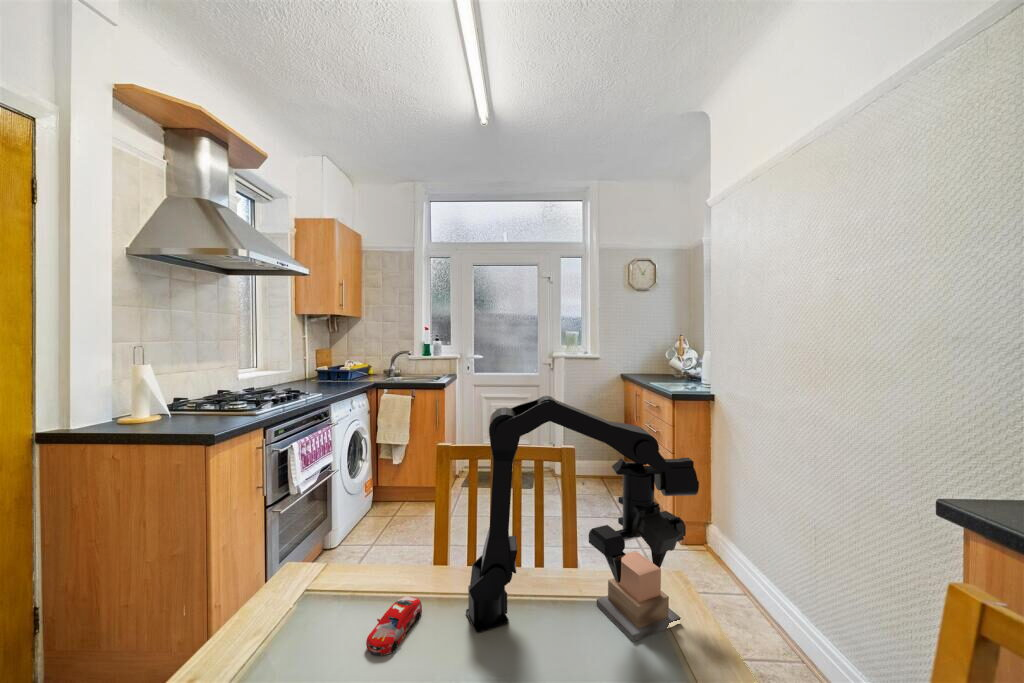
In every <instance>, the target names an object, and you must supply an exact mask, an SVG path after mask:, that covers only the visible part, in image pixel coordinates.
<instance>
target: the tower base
mask: <svg viewBox="0 0 1024 683" xmlns="http://www.w3.org/2000/svg"><path fill="white" fill-rule="evenodd" d="M669 598H670V597H669V595H668V594H666V593H665V592H664V591H663V590H661V595H659V596H656V597H653V598H650V599H647V600H644V601H641V602H638V601H637V600H636V599H635V598H634V597H633V596H631V595H630V594H629V593H628V592H627V591H626V590H624V589H623V588H622V587H621V586H620V585H619V584H618V583H616V582H615V578H614V577H613V578H610V579H607V595H606V596H602V597H599V598H596V606H597V607H598V608H599V609H600V610H601V612H603V614H604V615H606V616H607V617H608V619H610V621H612V622H613V624H615V626H616V627H617V628H618V629H620V631H622V633H623V634H624V635H626V637H627V638H628V639H629V640H630V641H631V642H636V641H638V640H642V639H645V638H647V637H649V636H652V635H655V634H657V633H660V632H663V631H665V630H668V629H667V627H668V625H669V623H671V622H673V621H677V620H680V619H681V620H682V618H681V616H679V615H678V614H677V613H676V612H675V611H673V610H672V609H671V608H670V606H669V605H670V603H669V602H670V601H669V600H670V599H669Z"/></svg>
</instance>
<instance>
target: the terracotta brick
mask: <svg viewBox="0 0 1024 683" xmlns="http://www.w3.org/2000/svg"><path fill="white" fill-rule="evenodd" d="M625 554H626V555H625V556H624V557H622V559H621V580H620V582H619V583H618V582H617V581H616V580H615V582H616V583H618V584H619V585H620V586H621V587H622V588H623V589H624V590H626V591H627V592H628V593H629V594H630V595H631V596H633V597H634V598H635V599H636V600H637V601H638V602H641V601H644V600H647V599H650V598H653V597H656V596H659V595H661V591H662V590H661V589H662V588H661V587H662V585H661V584H662V580H661V579H662V569H661V567H660V568H659V567H658V566H656V565H655V564H653V561H651V560H649V559H648V558H647V557H645V556H644V555H642V554H641V553H640V552H639V551H636V550H635V551H632V552H627V553H625Z"/></svg>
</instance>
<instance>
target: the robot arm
mask: <svg viewBox="0 0 1024 683" xmlns="http://www.w3.org/2000/svg"><path fill="white" fill-rule="evenodd" d="M489 418H490V419H489V426H488V435H489V442H490V449H491V450H490V451H491V456H492V462H493V463H492V476H491V477H492V480H491V498H490V512H489V514H490V515H489V527H488V530H487V533H486V537H485V541H484V544H483V550H482V552H481V553H482V554H481V555H480V556H479V557H478V558H477V560H475V561H474V562H473V563H472V565H471V571H470V572H471V573H470V574H471V575H470V583H469V585H467V587H468V588H467V589H468V592H467V593H468V598H467V599H468V608H467V609H466V610H465V615H466V616H467V618H468V620H469V622H470V623H471V625H472V628H473V629H474V632H475V633H481V632H485V631H487V630H488V631H489V630H491V629H495V628H497V627H501V626H504V625H507V624H509V622H510V619H509V617H508V616H507V615H506V614H508V592H507V591H506V586H507V585H508V584H509V583H511V581H512V579H513V574H517V562H516V561H517V560H516V559H517V555H518V544H517V536H516V535H510V533H509V529H510V515H511V511H510V510H511V496H512V482H513V480H512V478H513V466H514V465H513V464H514V460H515V457H516V454H517V450H518V447H519V443H520V439H521V437H522V436H524V435H527V434H529V433H531V432H533V431H534V430H536V429H537V428H539V427H541V426H542V425H545V424H546V423H549V422H550V423H554V424H556V425H559V426H561V427H564V428H566V429H568V430H570V431H574V432H576V433H579V434H581V435H583V436H587V437H589V438H592V439H594V440H597V441H599V442H601V443H604V444H606V445H607V446H608V447H610V448H612V449H614V450H615V451H617V452H618V453H619V454H621V455H622V456H624V457H625V458H627V460H628V459H629V460H630V461H631V462H629V461H625V460H624V459H623V458H622V457H620V458H619V459H618V461H616V462H615V463H614V464H613V465H611V468H612V470H613V471H614V473H615V474H616V475H617V476H622V496H618V497H617V498H618V503H619V504H620V505H622V516H620V517H618V520H617V522H618V525H621V526H622V528H621V529H618V530H615V529H614V528H612V527H611V526H610V525H608V524H606V525H605V524H604V525H600V526H596V527H593V528H591V529H590V530H589V532H588V543H589V544H590V545H591V546H592V547H594V548H595V549H596V550H597V551H599V552H600V553H601V555H603V556H604V557H605V559H606V560H605V561H606V562H607V564H608V567H609V569H610V571H611V574H612V575H613V578H615V580H616V581H617V582H618V583H619V582H620V580H621V559H622V557H624V556H625V555H626V554H627V553H626V552H624V550H625V548H626V542H628V541H632V540H635V539H638V538H642V540H643V541H644V542H645V544H647V546H648V547H649V548H650V552H651V559H652V561H651V562H652V563H653V564H655V565H656V566H658V567H659V568H660V569H661V567H662V565H663V562H664V560H665V556H666V554H667V552H669V551H670V552H672V551H674V550H675V548H676V545H677V543H678V542H682V541H684V538H685V537H686V533H687V532H686V530H687V529H686V528H687V527H686V526H687V525H686V523H685V521H684V520H683V519H682V518H680V516H676V515H675V514H672V513H670V512H669V511H668V510H663V511H661V507H660V503H658V502H656V501H655V488H656V490H657V491H660V493H661V494H662V496H665V497H672V496H673V497H674V496H675V497H678V496H679V497H681V496H683V497H684V496H697V494H698V493H699V488H700V481H699V480H698V475H697V471H696V469H695V466H694V465H695V464H694V463H695V462H694V460H692V458H690V457H681V458H664V456H662V455H661V453H660V452H659V451H660V446H659V441H658V440H657V439H656V437H655V436H653V435H652V434H651V433H650V432H649V431H647V430H646V429H644V428H643V427H641V426H639V425H634V424H630V423H625V422H614V421H609V420H606V419H604V418H601V417H599V416H597V415H594V414H592V413H589V412H587V411H584V410H581V409H579V408H577V407H574V406H572V405H570V404H567V403H565V402H562V401H559V400H557V399H556V398H554V397H553V396H549V395H543V396H541V397H539V398H537V399H535V400H531V401H528V402H524V403H520V404H518V405H516V406H513V407H507V406H505V407H500V408H497V409H496V410H495V411H493V412H492V414H491V416H490V417H489Z"/></svg>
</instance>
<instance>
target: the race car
mask: <svg viewBox="0 0 1024 683" xmlns="http://www.w3.org/2000/svg"><path fill="white" fill-rule="evenodd" d="M422 608H423V605H422V602H421V600H420V599H419V598H418V597H414V596H409V595H405V596H403V597H401V598H399V599H397V601H394V603H393V604H392V605H391V606H390V607H389V608H388V609H387V610H386V612H385V613H383V615H382V616H381V618H377V619H376V620H377V624H376V625H375V627H373V630H372V631H371V632H370V633H369V634H368V636H367V637H366V641H365V642H366V643H365V646H366V649H367V651H368V653H370V654H372V655H375V656H385V655H388V654H389V655H390V654H393V653H394V652H393V651H395V650H396V649H398V646H399V645H400V644H401V642H402V641H403V640H404V639H405V637H406V636H407V634H409V632H410V631H411V630H412V628H413V627H414V626H415V625H416V624H417V622H418V621H419V620H420V617H421V616H422V612H423V609H422Z"/></svg>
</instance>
